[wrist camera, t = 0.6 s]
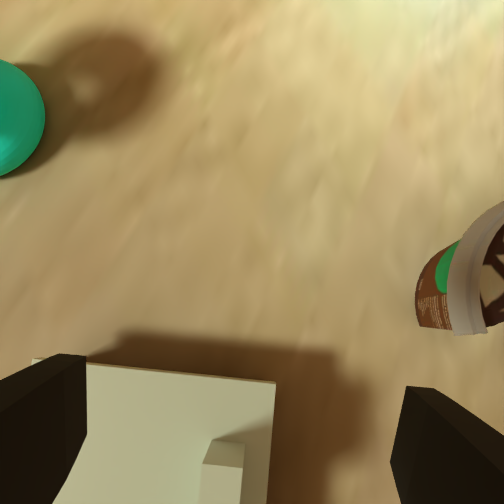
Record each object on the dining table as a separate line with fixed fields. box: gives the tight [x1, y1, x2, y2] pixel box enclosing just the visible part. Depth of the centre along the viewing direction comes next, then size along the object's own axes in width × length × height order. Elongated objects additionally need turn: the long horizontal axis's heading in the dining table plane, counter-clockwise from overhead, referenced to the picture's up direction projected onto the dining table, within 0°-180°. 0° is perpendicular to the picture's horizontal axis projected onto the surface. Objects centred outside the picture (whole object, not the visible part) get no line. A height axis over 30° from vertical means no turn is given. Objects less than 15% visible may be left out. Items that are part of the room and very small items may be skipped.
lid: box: [31, 357, 276, 504], centre depth 22 cm, size 12×15×6 cm
